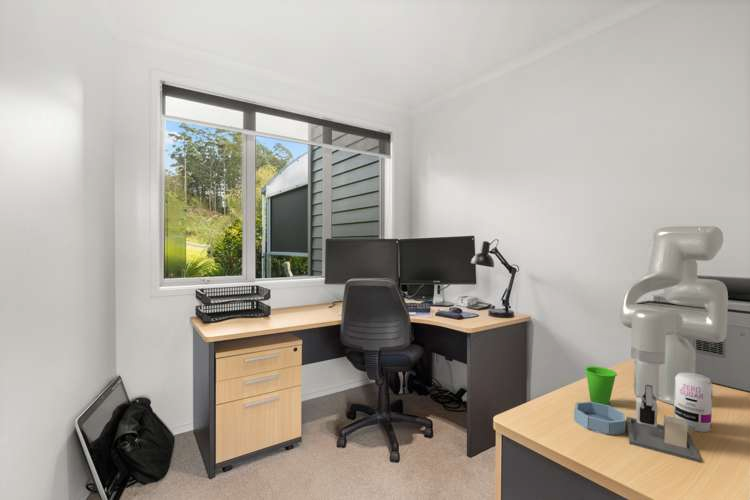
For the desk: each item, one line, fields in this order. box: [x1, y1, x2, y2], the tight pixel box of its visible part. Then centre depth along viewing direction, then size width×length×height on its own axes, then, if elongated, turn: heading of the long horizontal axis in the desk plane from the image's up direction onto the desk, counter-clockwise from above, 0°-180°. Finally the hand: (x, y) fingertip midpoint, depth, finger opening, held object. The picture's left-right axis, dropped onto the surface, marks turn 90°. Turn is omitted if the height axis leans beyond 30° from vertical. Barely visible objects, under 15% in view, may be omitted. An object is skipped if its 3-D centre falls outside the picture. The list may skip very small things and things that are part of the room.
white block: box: [635, 396, 658, 427], centre depth 99 cm, size 4×4×6 cm
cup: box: [584, 365, 618, 406], centre depth 119 cm, size 9×9×11 cm
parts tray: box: [626, 416, 701, 463], centre depth 97 cm, size 16×14×1 cm
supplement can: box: [673, 372, 713, 433], centre depth 104 cm, size 8×8×15 cm
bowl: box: [573, 400, 626, 436], centre depth 104 cm, size 12×12×4 cm
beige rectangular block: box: [662, 415, 688, 448], centre depth 95 cm, size 4×4×6 cm
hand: (646, 418), depth 99 cm, fingers closed on white block, 3 cm apart
